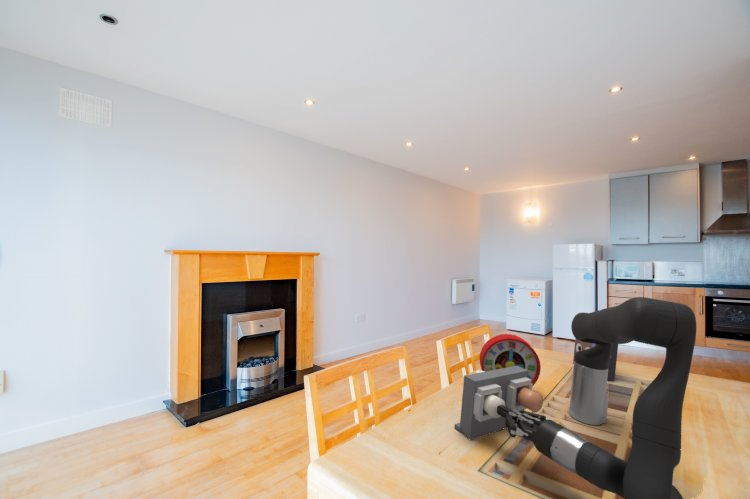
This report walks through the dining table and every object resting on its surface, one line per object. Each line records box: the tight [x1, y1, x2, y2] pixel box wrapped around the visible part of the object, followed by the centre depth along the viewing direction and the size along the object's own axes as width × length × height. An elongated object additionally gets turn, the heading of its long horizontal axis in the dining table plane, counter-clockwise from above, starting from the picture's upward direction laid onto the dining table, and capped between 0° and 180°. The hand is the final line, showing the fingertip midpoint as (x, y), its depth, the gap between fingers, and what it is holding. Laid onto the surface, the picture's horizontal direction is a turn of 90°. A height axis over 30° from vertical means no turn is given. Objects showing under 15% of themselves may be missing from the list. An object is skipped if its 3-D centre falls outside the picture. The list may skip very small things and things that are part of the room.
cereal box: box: [572, 337, 619, 382], centre depth 149 cm, size 17×5×24 cm, turn 10°
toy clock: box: [479, 333, 542, 387], centre depth 125 cm, size 20×6×20 cm, turn 80°
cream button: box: [483, 394, 505, 418], centre depth 92 cm, size 4×5×5 cm
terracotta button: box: [517, 388, 544, 414], centre depth 96 cm, size 4×5×5 cm
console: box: [454, 366, 534, 441], centre depth 99 cm, size 22×8×16 cm, turn 120°
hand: (498, 408), depth 90 cm, fingers closed
